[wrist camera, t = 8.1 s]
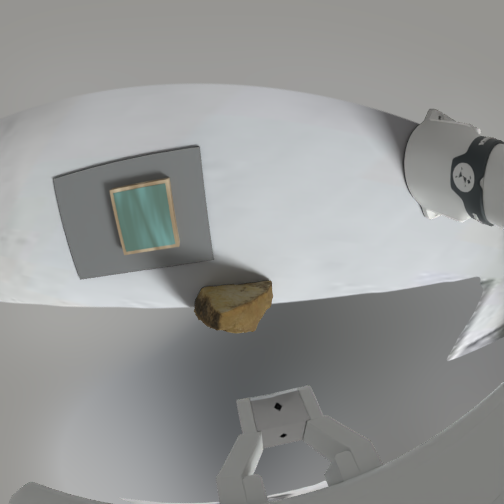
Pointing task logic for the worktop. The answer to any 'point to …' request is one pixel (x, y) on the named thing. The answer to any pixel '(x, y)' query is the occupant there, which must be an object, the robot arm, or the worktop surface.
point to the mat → (103, 219)
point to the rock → (234, 306)
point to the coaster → (145, 216)
